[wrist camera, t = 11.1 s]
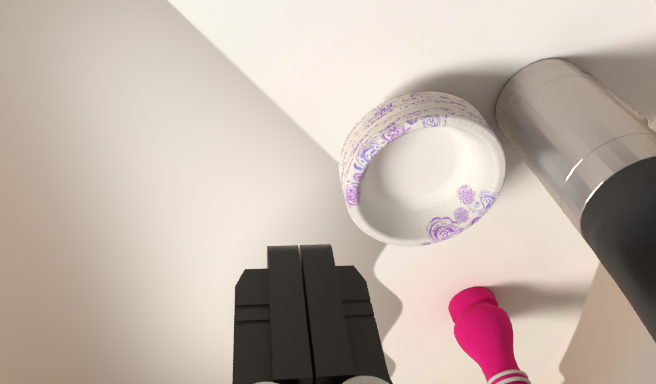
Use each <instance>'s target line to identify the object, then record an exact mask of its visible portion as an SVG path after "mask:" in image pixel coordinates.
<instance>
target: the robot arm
mask: <svg viewBox="0 0 656 384" xmlns="http://www.w3.org/2000/svg"><path fill="white" fill-rule="evenodd" d="M496 120H497V123H498V126H499V127H500V129H501V130H502V132H503V133H504V134H505V135H506V137H507V138H508V139H509V141H510V142H511V143H512V145H513V146H514V147H515V149H516V150H517V152H518V153H519V154H520V156H521V157H522V158H523V159H524V161H525V162H526V163H527V165H528V166H529V167H530V169H531V170H532V171H533V173H534V174H535V175H536V177H537V178H538V179H539V181H540V182H541V183H542V184H543V186H544V187H545V188H546V190H547V191H548V192H549V194H550V195H551V196H552V198H553V199H554V200H555V202H556V203H557V204H558V205H559V207H560V208H561V209H562V211H563V212H564V213H565V215H566V216H567V217H568V218H569V220H570V221H571V222H572V224H573V225H574V226H575V228H576V229H577V230H578V232H579V233H580V234H581V235H582V237H583V238H584V239H585V241H586V242H587V243H588V245H589V246H590V247H591V248H592V250H593V251H594V253H595V254H596V256H597V257H598V259H599V260H600V262H601V263H602V264H603V266H604V267H605V268H606V270H607V271H608V272H609V274H610V275H611V276H612V278H613V279H614V280H615V282H616V283H617V285H618V286H619V288H620V289H621V291H622V292H623V293H624V295H625V296H626V298H627V299H628V301H629V302H630V304H631V305H632V307H633V309H634V310H635V311H636V313H637V314H638V316H639V318H640V319H641V321H642V322H643V324H644V325H645V327H646V328H647V330H648V332H649V333H650V335H651V336H652V338H653V339H654V341H655V342H656V132H654V131H653V130H652V129H651V128H649V127H648V126H647V125H648V122H647V120H646V118H645V117H643V116H642V115H641V114H640V113H638V112H637V111H636V110H635V109H634V108H632V107H631V106H630V105H629V104H627V103H626V102H625V101H624V100H623V99H621V98H620V97H619V96H618V95H616V94H615V93H614V92H613V91H611V90H610V89H609V88H608V87H607V86H605V85H604V84H603V83H602V82H600V81H599V80H598V79H597V78H595V77H594V76H593V75H592V74H585V73H584V72H582V71H581V70H580V69H579V68H578V67H576V66H575V65H574V64H572V63H570V62H568V61H565V60H562V59H546V60H541V61H538V62H535V63H533V64H530V65H528V66H527V67H525V68H523V69H521V70H520V71H519V72H518V73H517V74H515V75H514V76H513V77H512V78H511V79H510V80H509V81H508V83H507V84H506V85H505V87H504V88H503V90H502V91H501V93H500V96H499V98H498V101H497V105H496ZM234 316H235V317H234V352H233V384H393V383H392V381H391V379H390V377H389V374H388V371H387V366H386V362H385V358H384V354H383V350H382V345H381V341H380V337H379V334H378V329H377V325H376V321H375V318H374V312H373V308H372V304H371V303H370V296H369V292H368V288H367V284H366V281H365V279H364V278H363V277H362V276H361V274H360V273H359V272H358V271H357V269H356V268H355V267H354V266H335V262H334V257H333V251H332V247H331V245H330V244H326V245H300V248H298V246H297V245H294V246H268V247H267V269H245V270H244V272H243V274H242V275H241V277H240V279H239V281H238V282H237V284H236V286H235V315H234Z"/></svg>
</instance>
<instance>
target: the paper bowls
mask: <svg viewBox="0 0 656 384" xmlns="http://www.w3.org/2000/svg"><path fill="white" fill-rule="evenodd" d="M339 175H340V180H341V185H342V188H343V193H344V197H345V201H346V205H347V208H348V211H349V214H350V216H351V218H352V219H353V220H354V222H355V223H356V224H357V226H358V227H359V228H360V229H361V230H362V231H364V232H365V233H366V234H368V235H369V236H371V237H373V238H375V239H377V240H379V241H381V242H384V243H387V244H392V245H398V246H422V245H428V244H432V243H436V242H439V241H443V240H445V239H448V238H450V237H453V236H454V235H457V234H459V233H460V232H462V231H464V230H465V229H467V228H468V227H470V226H471V225H473V224H474V223H475V222H477V221H478V220H479V219H480V218H481V217H482V216H483V215H484V214H485V213H486V212H487V211H488V210H489V209H490V207H491V206H492V205H493V203H494V202H495V200H496V199H497V197H498V195H499V193H500V191H501V189H502V186H503V183H504V179H505V175H506V157H505V153H504V149H503V147H502V144H501V142H500V141H499V139H498V138H497V136H496V135H495V134H494V132H493V130H492V128H491V127H490V126H489V125H488V123H487V122H486V121H485V119H484V118H483V116H482V115H481V114H480V113H479V111H478V110H477V109H476V108H475V107H474V106H473V105H472V104H470V103H468V102H467V101H465V100H464V99H462V98H459V97H457V96H454V95H451V94H447V93H443V92H436V91H427V92H414V93H409V94H404V95H401V96H399V97H396V98H393V99H391V100H388V101H386V102H384V103H382V104H380V105H379V106H378V107H376V108H374V109H373V110H372V111H370V112H369V113H368V114H366V115H365V116H364V117H363V118H362V119H361V120H360V121H359V122H358V123H357V124H356V125H355V127H354V128H353V129H352V131H351V132H350V134H349V135H348V137H347V139H346V141H345V143H344V146H343V149H342V152H341V155H340V160H339Z"/></svg>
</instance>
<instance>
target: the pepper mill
mask: <svg viewBox="0 0 656 384" xmlns="http://www.w3.org/2000/svg"><path fill="white" fill-rule="evenodd" d="M449 312H450V315H451V317H452V320H453V322H454V323H455V326H454V335H455V338H456V340H457V342H458V344H459V345H460V346H461V348H462V349H463V350H464V351H465V352H466V353H467V354H468V355H469V356H470V357H471V358H472V359H474V360H475V361H476V362H477V363H478V364H479V366H480V367H481V369H482V371H483V373H484V375H485V377H486V380H487V384H531V382H530V381H529V380H528V376H527V374H526V373H525V372H523V371H520V369H519V367H518V366H517V363H516V361H515V358H514V353H513V329H512V324H511V322H510V319H509V317H508V315H507V313H506V312H505V311H504V310H502V309H501V308H499V307H498V303H497V301H496V299H495V297H494V295H493V293H492V292H491V291H490V290H488V289H486V288H482V287H474V288H468V289H466V290H463V291H461V292H459V293H458V294H457V295H455V296H454V297H453V299H452V300H451V301H450V304H449Z"/></svg>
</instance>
